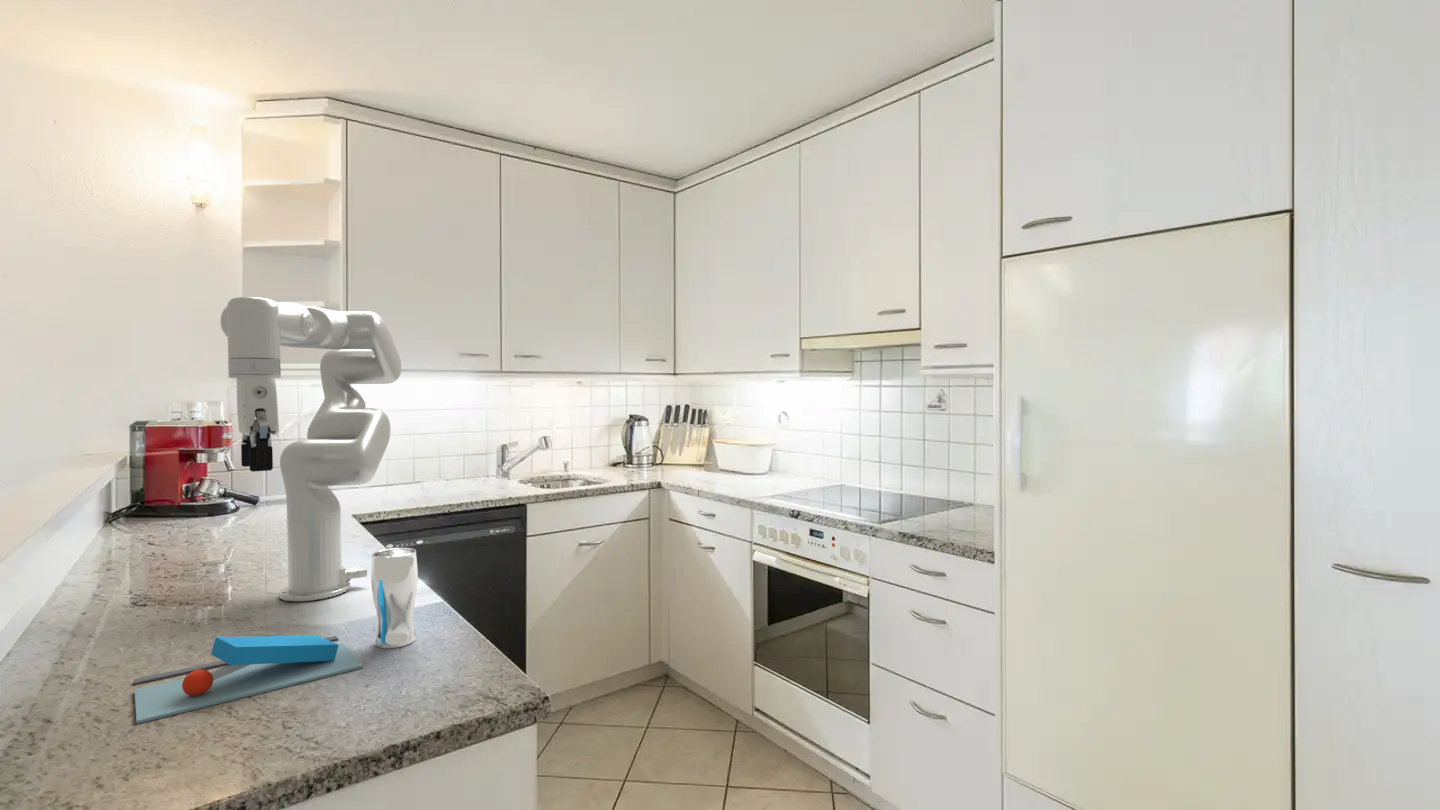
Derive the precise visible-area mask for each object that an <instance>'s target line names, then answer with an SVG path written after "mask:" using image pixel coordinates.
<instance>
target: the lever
mask: <svg viewBox="0 0 1440 810" xmlns="http://www.w3.org/2000/svg"><path fill="white" fill-rule="evenodd" d="M339 644H340V643H337V642H335V641H329V640H327V639H324V637H322V636H319V635H270V636H267V635H266V636H265V635H262V636H259V635H258V636H216V637H215V639H214V642H213V646H212V649H211V653H210V655H211V656H212V657H215V658H217V659H219V661H221V660H222V661H224V662H226V663H228V664H227V665H224V666H221V667H220V668H217V669H215V670H212V671H209V670H208V669H205V670H203V669H199V670H195V671H193V672H191V673H187V675H186V676H185V677H184V678H183V679H184V680H183V683H182V688H183V691H184V692H185V693H186V694H187V695H189V696H199V695H202V694H204V693H205V692H207V691H208V690H209V689H210V688H211V686H212V684H213V681H214V680H216V679H219V678H221V677H223V676H225V675H228V674H230V673H232V672H235V671H237V670H239V669H241V668H244V667H246V666H248V665H251V664H271V663H294V662H316V661H335V657H336V653H337V649H338V645H339Z"/></svg>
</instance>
